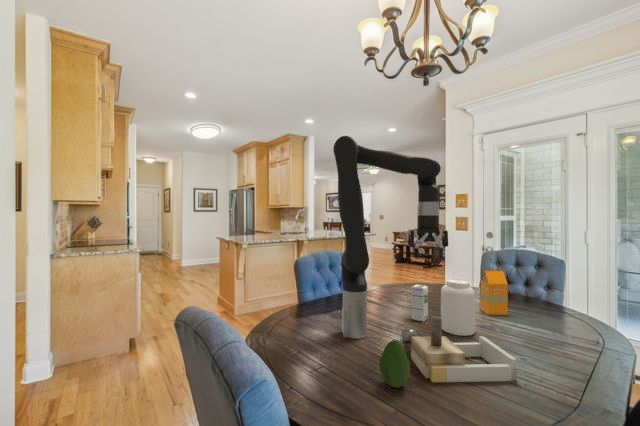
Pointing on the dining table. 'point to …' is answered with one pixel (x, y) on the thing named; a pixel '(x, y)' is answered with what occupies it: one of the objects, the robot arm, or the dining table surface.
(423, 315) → the syrup box
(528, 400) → the dining table surface
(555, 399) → the dining table surface
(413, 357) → the box with grey peg
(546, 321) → the dining table surface
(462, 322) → the white plastic bottle
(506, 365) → the frame
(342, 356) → the dining table surface
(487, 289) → the orange juice
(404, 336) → the drum
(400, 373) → the avocado
